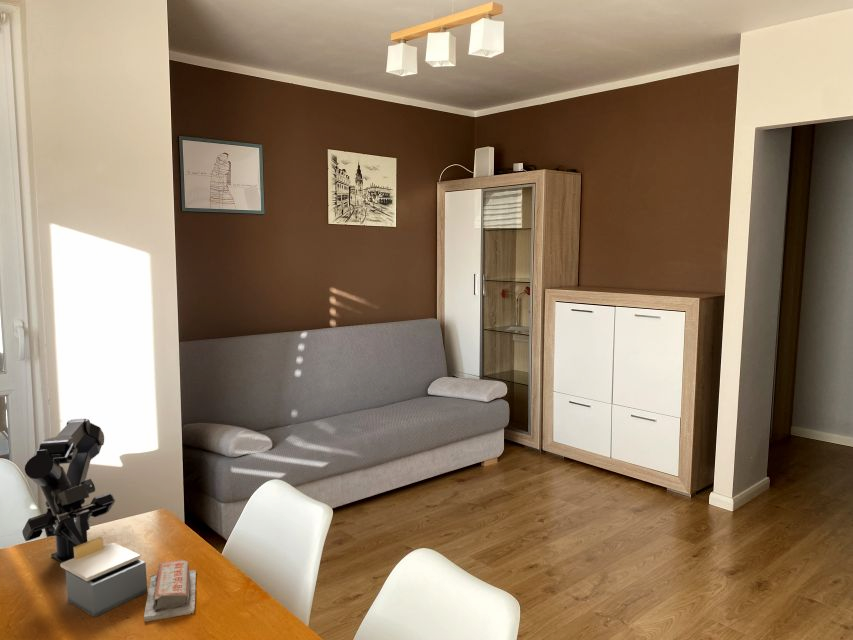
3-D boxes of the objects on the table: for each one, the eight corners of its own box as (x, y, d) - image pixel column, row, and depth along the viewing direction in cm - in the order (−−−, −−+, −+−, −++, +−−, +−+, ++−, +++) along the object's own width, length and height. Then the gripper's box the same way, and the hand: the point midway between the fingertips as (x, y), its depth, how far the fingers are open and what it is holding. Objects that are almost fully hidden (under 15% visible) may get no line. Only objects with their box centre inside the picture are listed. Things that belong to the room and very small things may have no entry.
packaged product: (149, 561, 151) (195, 554, 155) (150, 581, 152) (196, 574, 155) (142, 602, 135) (193, 593, 138) (143, 624, 135) (194, 615, 138)
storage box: (67, 601, 143) (65, 570, 142) (120, 577, 153) (118, 549, 152) (94, 617, 137) (92, 585, 136) (147, 591, 147) (145, 562, 146)
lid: (60, 566, 144) (59, 552, 143) (113, 545, 153) (112, 532, 153) (86, 581, 137) (85, 566, 137) (140, 558, 147) (139, 544, 147)
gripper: (23, 484, 142) (51, 546, 137) (108, 460, 156) (136, 515, 151) (10, 510, 147) (37, 571, 142) (93, 484, 162) (120, 538, 157)
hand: (85, 547), depth 148 cm, fingers closed
